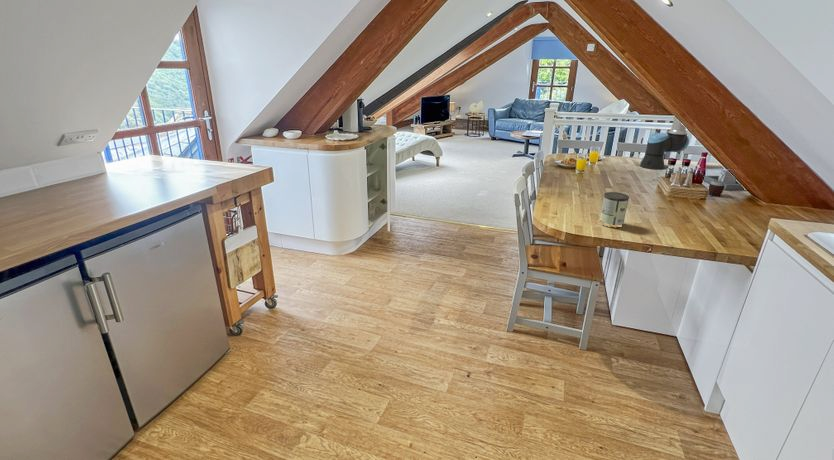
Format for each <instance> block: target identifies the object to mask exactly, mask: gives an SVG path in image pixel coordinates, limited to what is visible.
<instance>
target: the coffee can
mask: <svg viewBox="0 0 834 460" xmlns="http://www.w3.org/2000/svg"><path fill="white" fill-rule="evenodd" d="M629 199H630V196H629V195H628V194H625V193H622V192H618V191H610V192H609V191H608V192H605V193H604V194H603V200H602V207H601V213H600V217H599V221H600V220H601V221H603V222H604V223H607V224H613V225H622V224H623V225H624V223H625V218H626V213H627V208H628V203H629Z"/></svg>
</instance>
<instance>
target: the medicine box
mask: <svg viewBox="0 0 834 460" xmlns="http://www.w3.org/2000/svg"><path fill="white" fill-rule="evenodd" d="M727 170H728V169H721V170H720V173H719V175H718V176H719V179H718V181H719V180H720V178H721V177H722V175H723V174H724V173H726V172H728V171H727ZM721 181H722V182H724V183H725V184H735V182H736V179H735V178H734V177H733V176H732V175H731V174H730V173H729V172H728V173H726V174H725V175H724V176H723V177H722V179H721Z"/></svg>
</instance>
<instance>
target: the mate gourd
mask: <svg viewBox="0 0 834 460" xmlns="http://www.w3.org/2000/svg"><path fill="white" fill-rule="evenodd" d="M726 173H728V172H726ZM726 173H724V174H723V175H722V177H723V176H724V175H725V174H726ZM722 177H721V178H720V180H719V181H712V182H711V183H710V184H709V185H708V193H707V195H709V196H710V197H717V198H721V196H722V194H723V192H724V191H725V190H724V186H725V184H724V182H722V181H721V179H722Z"/></svg>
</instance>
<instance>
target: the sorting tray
mask: <svg viewBox="0 0 834 460" xmlns="http://www.w3.org/2000/svg"><path fill="white" fill-rule="evenodd" d="M704 176H705V178H704V183H706V184H709V185H710V183H711V182H712V181H718V179H719V175H704ZM724 184H725V183H724ZM723 191H745V190H744V188H743V187H742V186H741V184H739V183H738V182H737V181H736V182H735V184H725V186H724V190H723Z"/></svg>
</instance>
